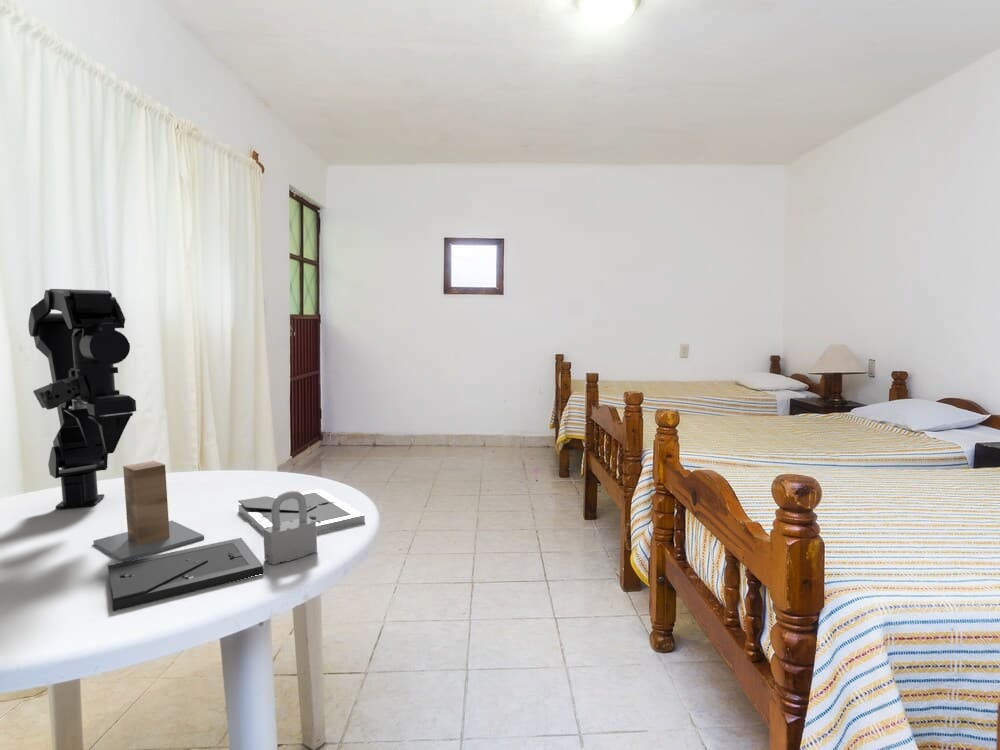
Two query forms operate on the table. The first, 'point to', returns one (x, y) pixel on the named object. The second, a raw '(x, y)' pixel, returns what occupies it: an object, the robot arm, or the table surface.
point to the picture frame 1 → (180, 572)
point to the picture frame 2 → (318, 508)
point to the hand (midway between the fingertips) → (100, 449)
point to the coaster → (129, 550)
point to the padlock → (289, 532)
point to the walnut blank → (146, 502)
